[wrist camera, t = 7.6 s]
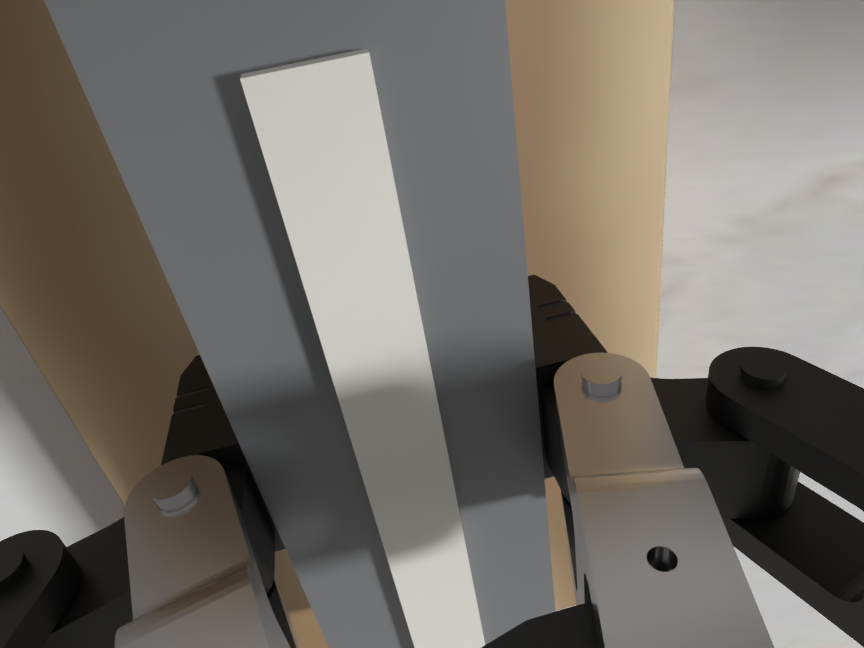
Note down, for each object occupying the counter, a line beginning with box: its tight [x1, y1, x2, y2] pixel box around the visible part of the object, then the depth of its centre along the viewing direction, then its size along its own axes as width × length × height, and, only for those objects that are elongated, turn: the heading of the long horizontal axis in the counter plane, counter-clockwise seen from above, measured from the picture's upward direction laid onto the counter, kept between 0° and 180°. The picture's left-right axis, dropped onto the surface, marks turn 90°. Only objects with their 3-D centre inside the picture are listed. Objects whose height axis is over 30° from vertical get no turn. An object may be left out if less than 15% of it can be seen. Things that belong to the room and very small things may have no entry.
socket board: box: [0, 0, 674, 648], centre depth 13 cm, size 12×22×2 cm, turn 9°
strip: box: [44, 0, 556, 648], centre depth 12 cm, size 4×16×7 cm, turn 9°
